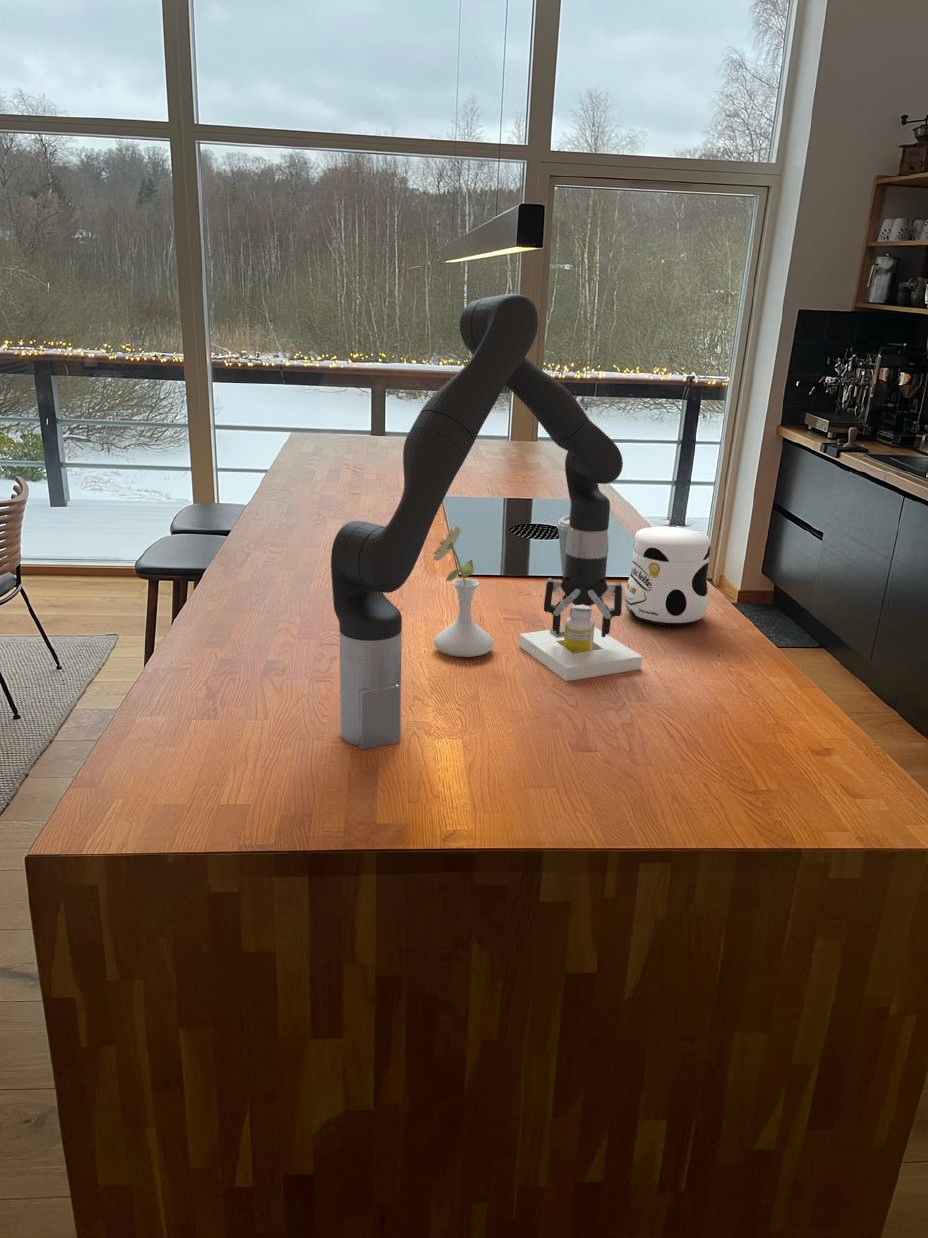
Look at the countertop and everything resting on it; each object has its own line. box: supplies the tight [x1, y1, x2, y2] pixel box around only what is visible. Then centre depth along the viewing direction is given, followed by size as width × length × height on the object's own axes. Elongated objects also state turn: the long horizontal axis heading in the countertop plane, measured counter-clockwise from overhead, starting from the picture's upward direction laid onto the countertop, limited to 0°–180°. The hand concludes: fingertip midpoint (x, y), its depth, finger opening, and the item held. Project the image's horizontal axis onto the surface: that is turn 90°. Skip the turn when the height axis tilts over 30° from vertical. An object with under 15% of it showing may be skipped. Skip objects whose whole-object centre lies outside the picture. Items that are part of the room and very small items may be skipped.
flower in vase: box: [432, 525, 495, 658], centre depth 175 cm, size 13×11×25 cm
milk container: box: [624, 526, 711, 627], centre depth 199 cm, size 17×17×18 cm
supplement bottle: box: [564, 604, 595, 653], centre depth 177 cm, size 5×5×10 cm
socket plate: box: [518, 626, 643, 682], centre depth 178 cm, size 18×16×3 cm
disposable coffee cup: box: [556, 514, 570, 578], centre depth 223 cm, size 11×11×15 cm
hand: (580, 634), depth 177 cm, fingers open, 8 cm apart
